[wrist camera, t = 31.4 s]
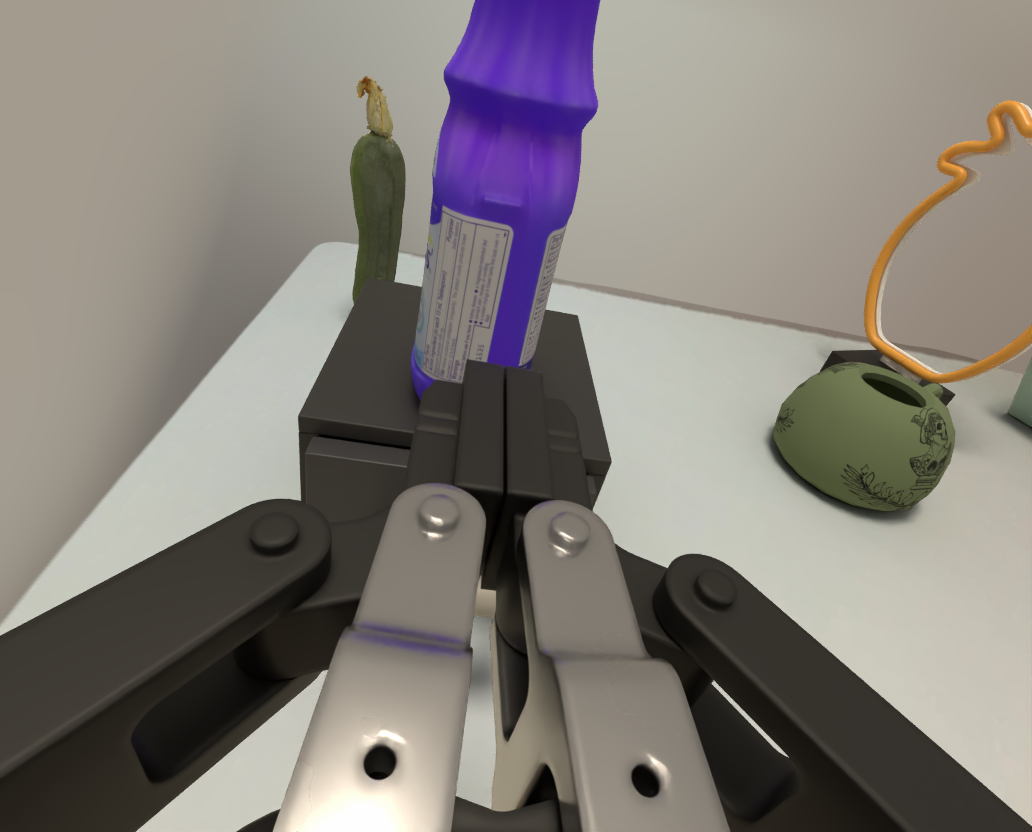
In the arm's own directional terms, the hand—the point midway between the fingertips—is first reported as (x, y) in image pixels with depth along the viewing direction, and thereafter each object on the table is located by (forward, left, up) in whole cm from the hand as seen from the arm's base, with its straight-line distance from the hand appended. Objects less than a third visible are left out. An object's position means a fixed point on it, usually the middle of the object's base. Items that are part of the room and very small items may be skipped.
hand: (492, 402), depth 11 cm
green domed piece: (+8, +44, -20) cm, 49 cm away
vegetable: (-32, +23, -20) cm, 44 cm away
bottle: (-9, +10, -9) cm, 17 cm away
